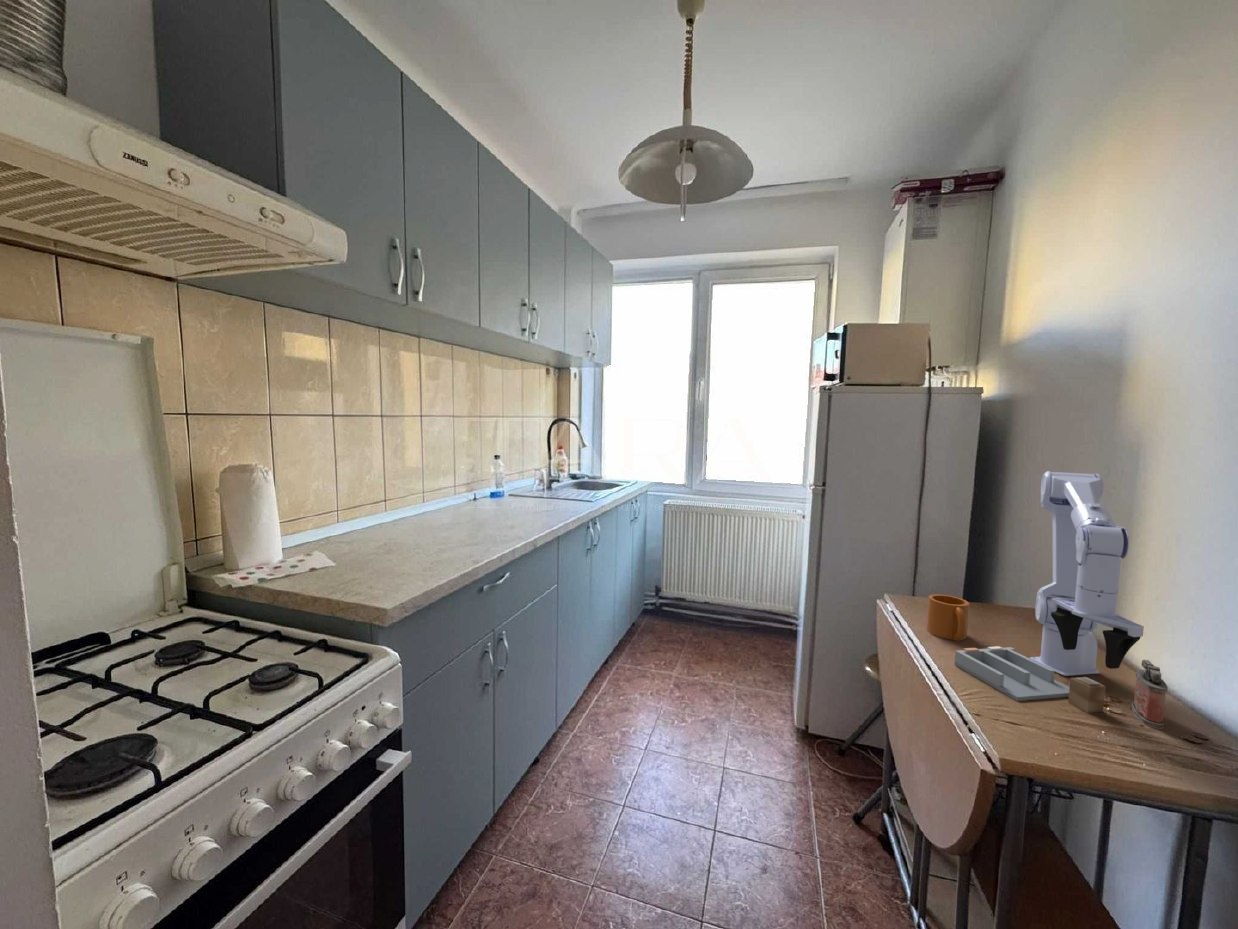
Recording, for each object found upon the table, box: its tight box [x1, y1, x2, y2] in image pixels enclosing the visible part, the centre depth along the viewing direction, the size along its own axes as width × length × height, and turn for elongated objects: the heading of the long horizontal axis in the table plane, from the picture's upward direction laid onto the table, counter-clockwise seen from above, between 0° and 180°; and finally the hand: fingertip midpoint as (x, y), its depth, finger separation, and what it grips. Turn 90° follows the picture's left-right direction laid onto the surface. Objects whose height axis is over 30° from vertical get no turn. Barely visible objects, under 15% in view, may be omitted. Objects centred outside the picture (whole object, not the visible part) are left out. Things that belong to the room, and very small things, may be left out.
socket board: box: [954, 645, 1070, 702], centre depth 107 cm, size 14×15×4 cm
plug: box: [1068, 676, 1106, 714], centre depth 97 cm, size 4×4×5 cm
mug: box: [926, 594, 970, 642], centre depth 129 cm, size 9×12×9 cm
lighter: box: [1131, 659, 1168, 730], centre depth 93 cm, size 8×3×10 cm, turn 148°
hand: (1090, 658), depth 96 cm, fingers open, 7 cm apart
